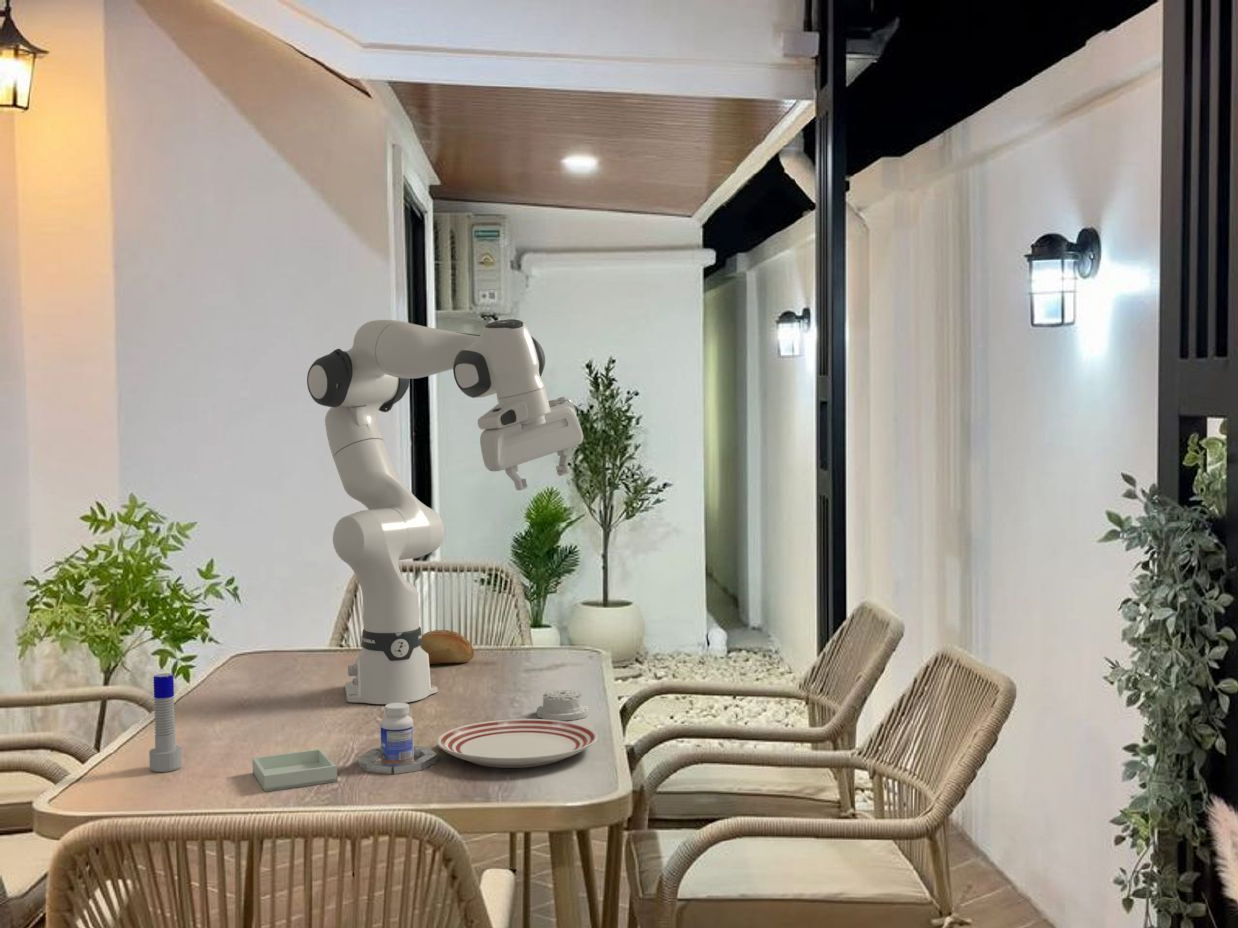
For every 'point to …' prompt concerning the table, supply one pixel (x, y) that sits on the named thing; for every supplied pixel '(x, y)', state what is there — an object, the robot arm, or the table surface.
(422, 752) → the collar
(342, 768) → the table surface
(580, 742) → the dinner plate
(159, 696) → the bolt
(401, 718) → the pill bottle
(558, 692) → the mechanical component
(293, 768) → the bin
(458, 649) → the bread roll
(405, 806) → the table surface
